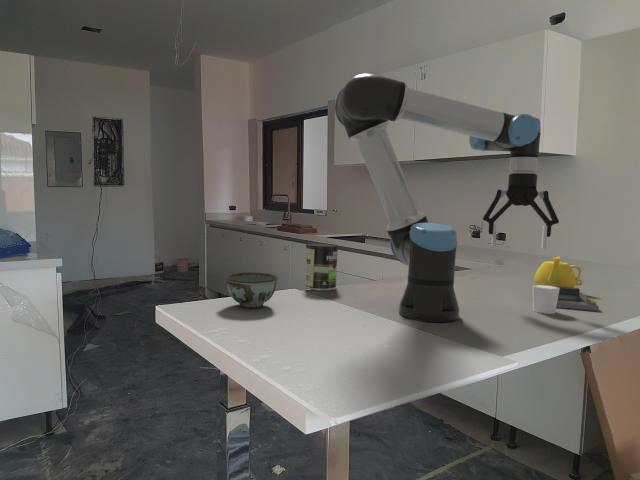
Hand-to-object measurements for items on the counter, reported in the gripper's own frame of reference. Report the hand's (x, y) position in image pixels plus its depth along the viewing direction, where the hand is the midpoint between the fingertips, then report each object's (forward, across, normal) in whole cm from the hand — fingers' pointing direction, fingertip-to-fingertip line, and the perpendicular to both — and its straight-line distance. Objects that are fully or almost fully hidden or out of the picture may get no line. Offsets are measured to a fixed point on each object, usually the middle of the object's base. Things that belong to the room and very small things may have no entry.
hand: (518, 247), depth 140 cm
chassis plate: (+17, -16, -10) cm, 25 cm away
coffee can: (+17, +59, 0) cm, 61 cm away
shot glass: (+17, -7, +6) cm, 19 cm away
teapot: (+17, -18, -30) cm, 39 cm away
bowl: (+17, +69, +32) cm, 78 cm away
